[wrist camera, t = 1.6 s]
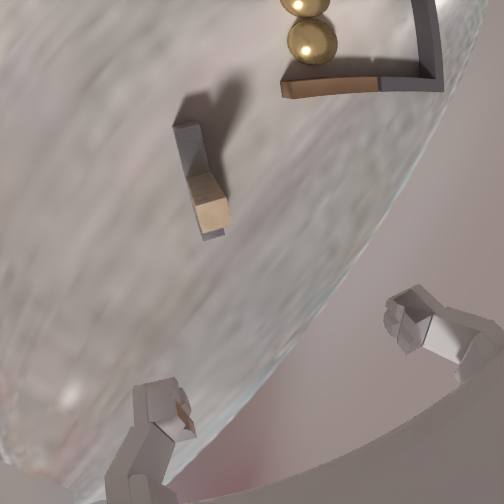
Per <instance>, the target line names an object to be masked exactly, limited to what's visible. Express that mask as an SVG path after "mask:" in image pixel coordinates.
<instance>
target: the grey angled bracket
mask: <svg viewBox="0 0 504 504" xmlns="http://www.w3.org/2000/svg"><path fill="white" fill-rule="evenodd" d="M411 2H412V7H413V13H414V20H415V26H416V34H417V42H418V51H419V62H420V76H421V77H412V76H371V77H377V83H378V91H381V92H389V91H425V92H444V76H443V61H442V49H441V40H440V32H439V24H438V17H437V11H436V5H435V0H411Z"/></svg>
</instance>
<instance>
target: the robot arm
mask: <svg viewBox="0 0 504 504" xmlns="http://www.w3.org/2000/svg"><path fill="white" fill-rule="evenodd" d="M386 307H387V308H388V310H387V311H386V312H385V314H384V325H385V328H386V329H387V331H388V333H389V334H390V335H391V336H393V337H396V338H397V344H398V345H399V346H400V347H401V349H402V350H403V351H404V352H405V353H406V354H408V353H410V352H412V351H414V350H416V349H418V348H419V347H421V346H423V347H424V348H426V349H428V350H430V351H432V352H435V353H437V354H439V355H441V356H443V357H445V358H447V359H450V360H452V361H453V362H456V363H458V364H459V366H458V368H457V370H456V371H455V375H454V376H455V377H456V379H457V380H458V381H459V383H460V384H461V385H460V386H458V387H457V388H456V389H454V390H453V391H452V392H450V393H449V394H448V395H446V396H445V397H443V398H442V399H441V400H439V401H438V402H437V403H435V404H433V405H432V406H431V407H429V408H428V409H426V410H424V411H423V412H421V413H420V414H419V415H417V416H415V417H413V418H412V419H410V420H409V421H407V422H405V423H404V424H402V425H400V426H399V427H397V428H395V429H393V430H392V431H390V432H388V433H386V434H385V435H383V436H381V437H379V438H377V439H375V440H374V441H372V442H370V443H368V444H366V445H364V446H362V447H360V448H358V449H356V450H354V451H351V452H349V453H347V454H345V455H343V456H341V457H338V458H336V459H334V460H332V461H329V462H327V463H324V464H322V465H320V466H318V467H315V468H312V469H310V470H307V471H305V472H302V473H299V474H296V475H294V476H291V477H288V478H285V479H282V480H279V481H276V482H273V483H270V484H266V485H263V486H260V487H256V488H253V489H249V490H245V491H242V492H238V493H234V494H230V495H225V496H221V497H216V498H211V499H207V500H202V501H196V502H190V503H184V504H504V331H503V330H502V329H501V327H499V326H498V325H497V324H496V323H495V322H494V321H493V320H490V319H487V318H483V317H480V316H477V315H474V314H470V313H467V312H463V311H460V310H457V309H454V308H451V307H445V308H444V306H443V305H441V304H440V303H439V302H438V301H437V300H436V299H435V298H434V297H433V296H432V295H431V294H430V293H429V292H428V291H427V290H426V289H425V288H424V287H422V286H421V285H419V284H418V285H415V286H413V287H412V288H409V289H407V290H405V291H403V292H401V293H399V294H397V295H395V296H393V297H391V298H388V300H387V301H386ZM133 409H134V424H135V426H133V427H131V428H130V430H129V432H128V433H127V435H126V437H125V439H124V441H123V443H122V445H121V446H120V448H119V450H118V452H117V454H116V456H115V458H114V460H113V461H112V463H111V465H110V467H109V469H108V471H107V473H106V475H105V489H106V499H107V504H179V502H178V498H177V494H176V492H175V491H174V490H172V489H170V488H168V487H166V486H164V485H162V481H163V478H164V475H165V472H166V469H167V467H168V464H169V461H170V458H171V455H172V453H173V450H174V447H175V443H177V442H181V441H185V440H189V439H193V438H196V437H197V436H196V431H195V427H194V422H193V421H192V419H191V418H190V417H189V415H190V413H191V407H190V403H189V400H188V397H187V395H186V393H185V391H184V390H183V388H180V387H179V385H178V381H177V380H176V379H175V377H172V378H168V379H163V380H159V381H155V382H150V383H146V384H141V385H137V386H134V388H133Z"/></svg>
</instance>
